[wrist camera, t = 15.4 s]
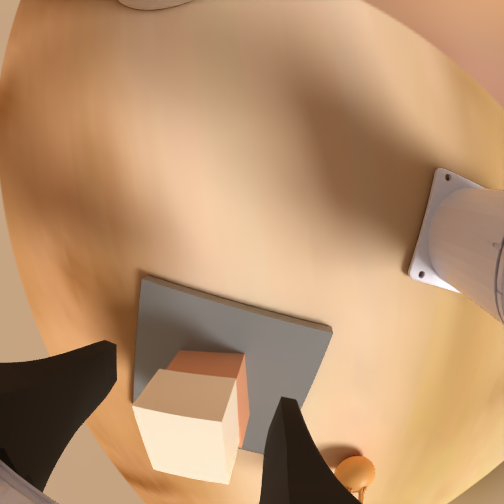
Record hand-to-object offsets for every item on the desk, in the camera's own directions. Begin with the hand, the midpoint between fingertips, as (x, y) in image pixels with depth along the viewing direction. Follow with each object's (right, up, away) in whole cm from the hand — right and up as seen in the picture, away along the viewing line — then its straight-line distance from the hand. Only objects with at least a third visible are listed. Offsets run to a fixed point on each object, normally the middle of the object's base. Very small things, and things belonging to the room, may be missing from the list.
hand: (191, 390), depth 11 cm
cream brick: (-1, -5, +7) cm, 8 cm away
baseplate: (0, -5, +12) cm, 13 cm away
